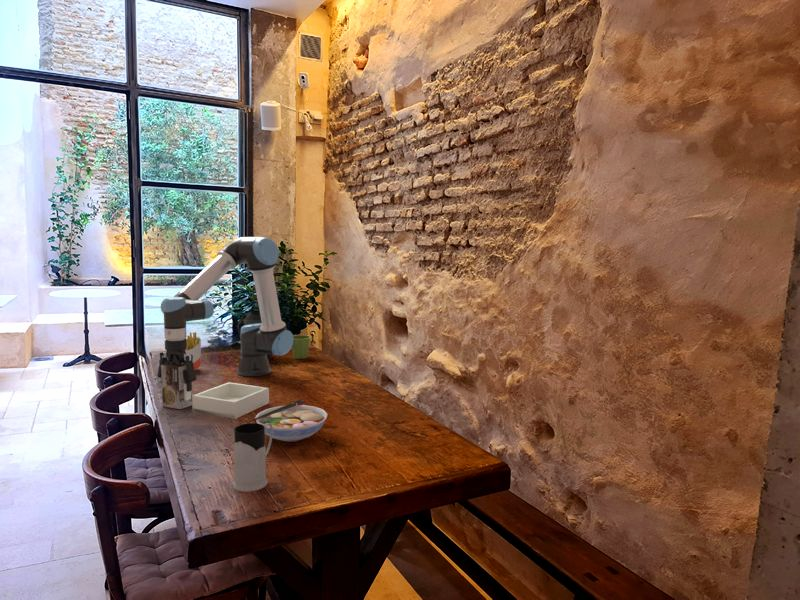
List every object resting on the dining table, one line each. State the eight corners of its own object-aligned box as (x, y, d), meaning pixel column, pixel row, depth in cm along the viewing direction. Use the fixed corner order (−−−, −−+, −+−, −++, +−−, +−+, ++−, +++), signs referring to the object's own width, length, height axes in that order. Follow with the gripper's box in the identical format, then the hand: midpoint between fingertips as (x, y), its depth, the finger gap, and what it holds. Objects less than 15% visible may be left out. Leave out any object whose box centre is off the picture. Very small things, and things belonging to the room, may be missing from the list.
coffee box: (193, 405, 203) (192, 363, 201) (179, 409, 197) (178, 366, 195) (175, 401, 206) (174, 360, 205) (161, 406, 201) (160, 364, 199)
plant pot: (293, 354, 292) (293, 334, 291) (314, 355, 291) (314, 335, 290) (285, 359, 281) (285, 338, 280) (307, 360, 279) (307, 339, 278)
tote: (192, 411, 195) (192, 395, 194) (229, 396, 214) (228, 382, 213) (235, 418, 188) (234, 402, 188) (268, 403, 207) (268, 388, 206)
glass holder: (225, 487, 137) (224, 431, 135) (258, 466, 150) (258, 414, 148) (254, 494, 134) (253, 436, 132) (285, 471, 147) (285, 418, 145)
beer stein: (268, 362, 274) (267, 313, 271) (230, 361, 274) (229, 313, 271) (275, 355, 291) (275, 309, 288) (240, 354, 291) (239, 308, 288)
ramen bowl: (290, 459, 155) (290, 432, 154) (236, 442, 167) (236, 417, 166) (344, 433, 176) (344, 409, 175) (292, 420, 188) (292, 397, 187)
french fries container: (200, 371, 253) (199, 333, 251) (175, 372, 251) (174, 334, 248) (201, 368, 258) (200, 332, 256) (177, 369, 255) (176, 332, 253)
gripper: (145, 338, 199) (147, 396, 202) (191, 343, 191) (192, 404, 194) (161, 334, 206) (162, 391, 209) (206, 339, 198) (207, 398, 201)
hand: (177, 397), depth 201 cm, fingers closed on coffee box, 9 cm apart
